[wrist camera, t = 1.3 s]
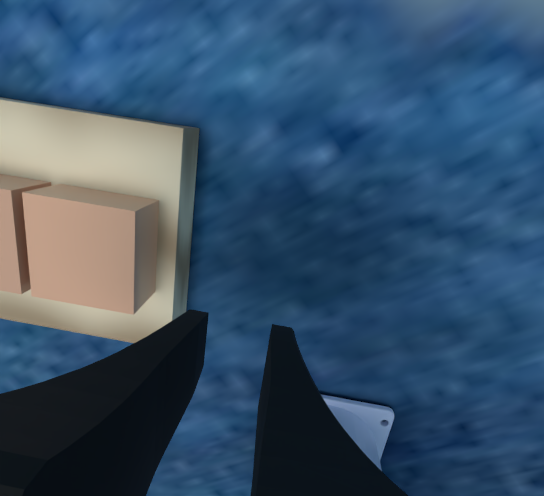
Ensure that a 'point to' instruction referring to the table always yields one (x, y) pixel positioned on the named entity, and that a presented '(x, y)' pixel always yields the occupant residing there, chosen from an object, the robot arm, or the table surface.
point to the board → (113, 178)
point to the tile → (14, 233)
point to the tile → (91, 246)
